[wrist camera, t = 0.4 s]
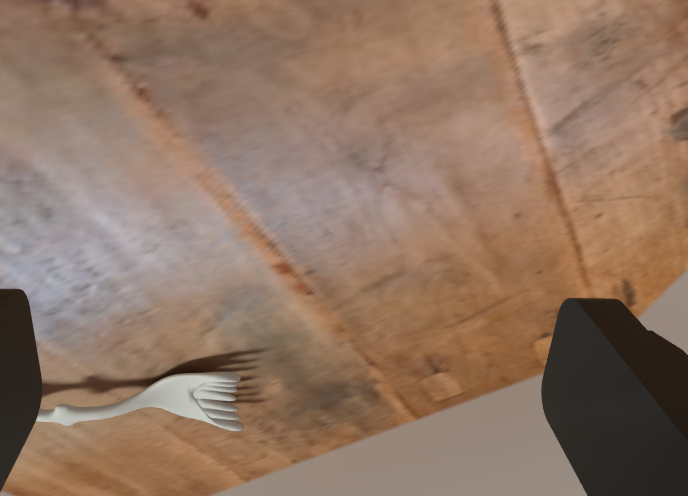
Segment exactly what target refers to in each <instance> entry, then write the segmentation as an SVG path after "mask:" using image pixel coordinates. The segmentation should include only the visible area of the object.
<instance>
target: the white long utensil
mask: <svg viewBox="0 0 688 496" xmlns="http://www.w3.org/2000/svg"><path fill="white" fill-rule="evenodd" d="M240 379H241V377H240V375H239V374H237V373H233V372H207V373H182V374H175V375H171V376H167V377H165V378H163V379H161V380H159V381H157V382H155V383H154V384H152V385H150V386H149V387H147V388H146V389H144V390H142V391H141V392H139V393H137V394H135V395H133V396H131V397H129V398H127V399H124V400H122V401H120V402H117V403H114V404H110V405H105V406H98V407H75V406H71V405H69V404H60V405H57V406H56V408H55V409H51V410H44V409H39V413H38V416H37V419H36V421H42V422H57V423H61V424H63V425H65V426H69V425H74V424H75V423H76V422H80V421H88V420H99V419H106V418H111V417H115V416H118V415H122V414H125V413H128V412H131V411H134V410H137V409H140V408H144V407H158V408H162V409H165V410H167V411H170V412H172V413H175V414H178V415H181V416H184V417H188V418H193V419H198V420H202V421H205V422H208V423H210V424H213V425H216V426H218V427H221V428H224V429H228V430H232V431H240V430H242V429H243V427H244V426H243V424H242V423H240V422H238V421H234V420H236V419H240V418H241V417H240V416H239V415H237V414H236V413H233V412H230V411H238V410H239V409H238V407H236V406H234V405H232V404H230V403H227V402H224V401H234V400H236V399H237V398H236V397H235V396H234V395H232V394H230V393H227V392H236V391H238V390H237V389H236V388H235V386H238V385H239V384H238V383H237V382H238V381H240ZM221 400H222V401H221Z"/></svg>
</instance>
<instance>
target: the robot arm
mask: <svg viewBox="0 0 688 496" xmlns="http://www.w3.org/2000/svg"><path fill="white" fill-rule="evenodd" d="M541 391H542V403H543V409H544V413H545V416H546V419H547V421H548V423H549V425H550V427H551V428H552V430H553V432H554V434H555V436H556V437H557V440H558V441H559V443H560V445H561V447H562V449H563V451H564V453H565V454H566V456H567V458H568V460H569V462H570V464H571V466H572V468H573V469H574V471H575V473H576V475H577V477H578V478H579V481H580V482H581V484H582V486H583V488H584V490H585V492H586V493H587V495H588V496H688V355H687V354H686V353H685V352H684V351H683V350H682V349H680V348H679V347H677V346H675V345H674V344H672V343H671V342H669V341H667V340H666V339H664V338H663V337H661V336H659V335H658V334H656V333H655V332H653V331H648V330H646V328H645V327H644V326H643V325H642V324H641V323H640V322H639V320H638V319H637V318H636V317H635V316H634V315H633V314H632V313H631V312H630V311H629V309H628V308H627V307H626V306H625V305H624V304H623V303H622V302H621V301H620V300H618V299H604V298H568V299H566V300H565V301H564V302H563V304H562V305H561V307H560V310H559V313H558V317H557V321H556V325H555V329H554V334H553V338H552V342H551V346H550V350H549V354H548V358H547V363H546V367H545V371H544V375H543V380H542V390H541ZM41 397H42V378H41V371H40V365H39V359H38V353H37V347H36V341H35V335H34V329H33V323H32V317H31V311H30V306H29V301H28V298H27V296H26V294H25V293H24V291H22V290H21V289H0V492H1V490H2V488H3V486H4V484H5V482H6V480H7V478H8V476H9V474H10V472H11V470H12V468H13V466H14V464H15V462H16V460H17V458H18V456H19V454H20V452H21V450H22V448H23V446H24V444H25V442H26V440H27V438H28V436H29V434H30V432H31V430H32V428H33V426H34V424H35V421H36V419H37V416H38V413H39V409H40V404H41Z"/></svg>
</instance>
